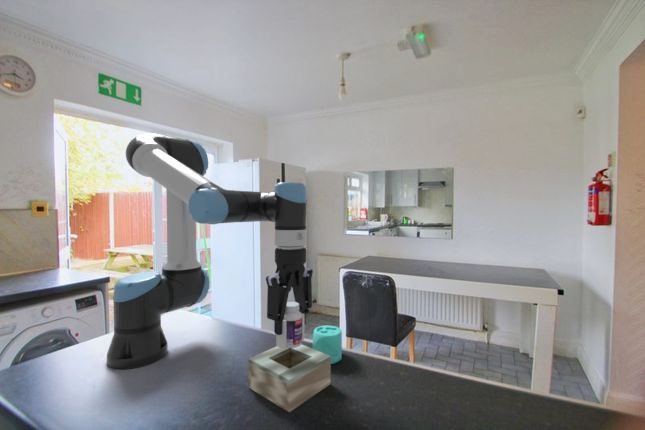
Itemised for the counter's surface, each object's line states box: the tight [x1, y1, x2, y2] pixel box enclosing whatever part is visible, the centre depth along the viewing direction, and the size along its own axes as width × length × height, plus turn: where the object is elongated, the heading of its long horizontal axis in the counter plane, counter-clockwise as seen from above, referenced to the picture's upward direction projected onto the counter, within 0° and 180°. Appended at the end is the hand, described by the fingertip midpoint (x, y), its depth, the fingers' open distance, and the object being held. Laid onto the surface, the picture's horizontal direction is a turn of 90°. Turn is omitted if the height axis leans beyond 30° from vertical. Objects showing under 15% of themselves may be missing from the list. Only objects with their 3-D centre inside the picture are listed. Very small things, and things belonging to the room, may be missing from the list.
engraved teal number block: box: [312, 324, 343, 365], centre depth 90 cm, size 8×8×8 cm
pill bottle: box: [284, 301, 303, 348], centre depth 76 cm, size 5×5×10 cm
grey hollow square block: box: [248, 343, 332, 413], centre depth 76 cm, size 14×14×7 cm
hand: (290, 342), depth 76 cm, fingers closed on pill bottle, 5 cm apart
